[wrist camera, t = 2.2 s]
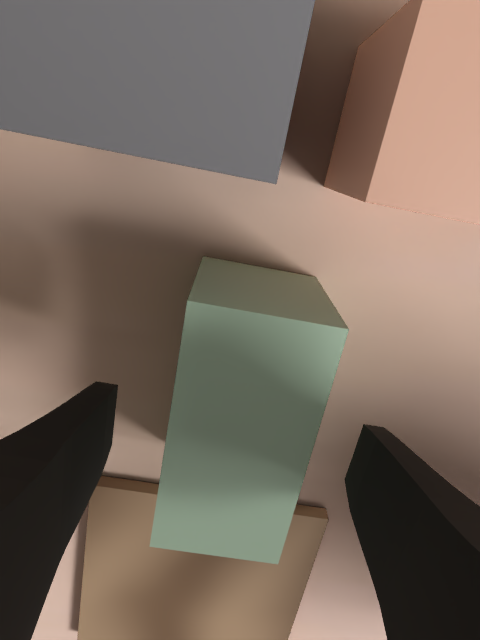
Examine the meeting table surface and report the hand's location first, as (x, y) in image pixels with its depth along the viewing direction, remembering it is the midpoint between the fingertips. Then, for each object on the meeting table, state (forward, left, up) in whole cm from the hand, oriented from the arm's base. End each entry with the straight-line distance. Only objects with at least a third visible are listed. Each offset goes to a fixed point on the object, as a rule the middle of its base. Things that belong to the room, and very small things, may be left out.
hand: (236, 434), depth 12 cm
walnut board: (0, +11, -4) cm, 12 cm away
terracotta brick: (-5, -9, -4) cm, 11 cm away
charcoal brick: (+3, -9, -4) cm, 11 cm away
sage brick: (0, 0, -4) cm, 4 cm away
